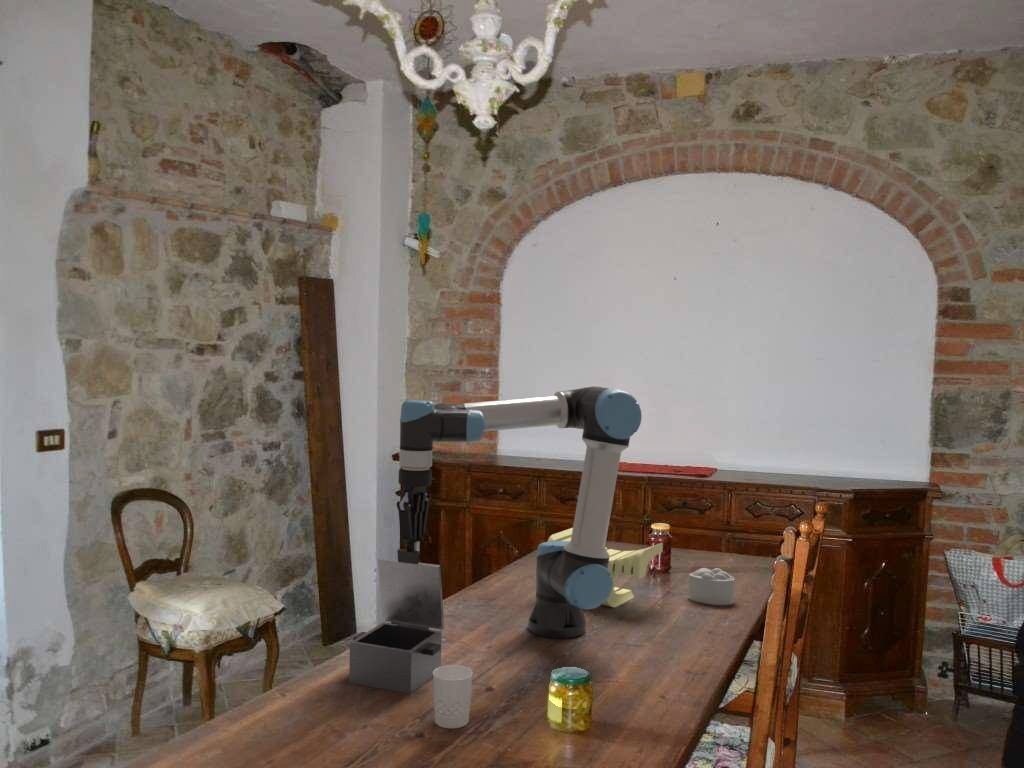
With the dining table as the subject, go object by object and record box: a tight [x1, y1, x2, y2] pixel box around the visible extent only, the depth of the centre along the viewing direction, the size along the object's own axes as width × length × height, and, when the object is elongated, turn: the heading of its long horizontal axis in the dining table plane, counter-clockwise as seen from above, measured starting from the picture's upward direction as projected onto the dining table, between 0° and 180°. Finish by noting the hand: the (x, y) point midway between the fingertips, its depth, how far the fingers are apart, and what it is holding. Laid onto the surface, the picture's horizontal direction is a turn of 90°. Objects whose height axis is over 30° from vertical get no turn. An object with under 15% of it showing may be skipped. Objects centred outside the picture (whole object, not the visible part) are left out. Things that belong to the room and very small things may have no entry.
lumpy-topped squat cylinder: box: [687, 567, 736, 606], centre depth 264 cm, size 10×13×9 cm
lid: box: [377, 548, 445, 631], centre depth 204 cm, size 15×19×2 cm
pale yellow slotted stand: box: [546, 527, 664, 608], centre depth 261 cm, size 30×16×18 cm, turn 57°
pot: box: [348, 621, 443, 695], centre depth 199 cm, size 20×15×9 cm
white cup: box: [432, 664, 474, 730], centre depth 176 cm, size 8×8×10 cm
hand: (412, 569), depth 205 cm, fingers closed
